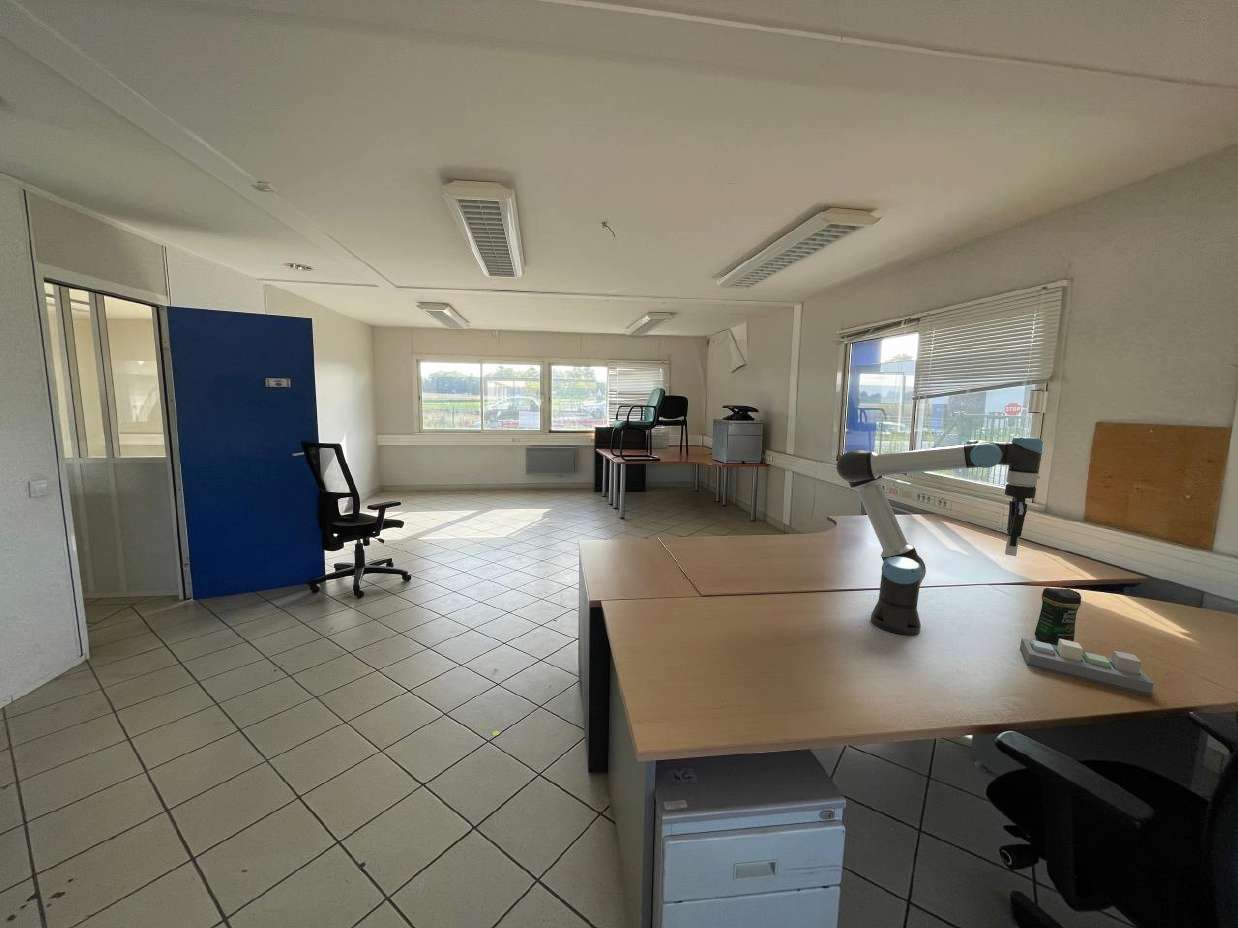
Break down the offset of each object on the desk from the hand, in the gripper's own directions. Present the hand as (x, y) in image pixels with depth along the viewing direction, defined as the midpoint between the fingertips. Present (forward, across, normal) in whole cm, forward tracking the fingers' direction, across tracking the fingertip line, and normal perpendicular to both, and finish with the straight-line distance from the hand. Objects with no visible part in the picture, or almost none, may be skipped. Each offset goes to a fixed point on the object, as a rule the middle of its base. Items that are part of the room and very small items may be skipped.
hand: (1010, 554), depth 155 cm
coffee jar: (+30, +9, -16) cm, 35 cm away
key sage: (+28, -11, -21) cm, 37 cm away
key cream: (+26, -11, -15) cm, 32 cm away
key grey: (+26, -11, -27) cm, 39 cm away
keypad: (+29, -11, -18) cm, 36 cm away
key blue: (+28, -11, -9) cm, 31 cm away
